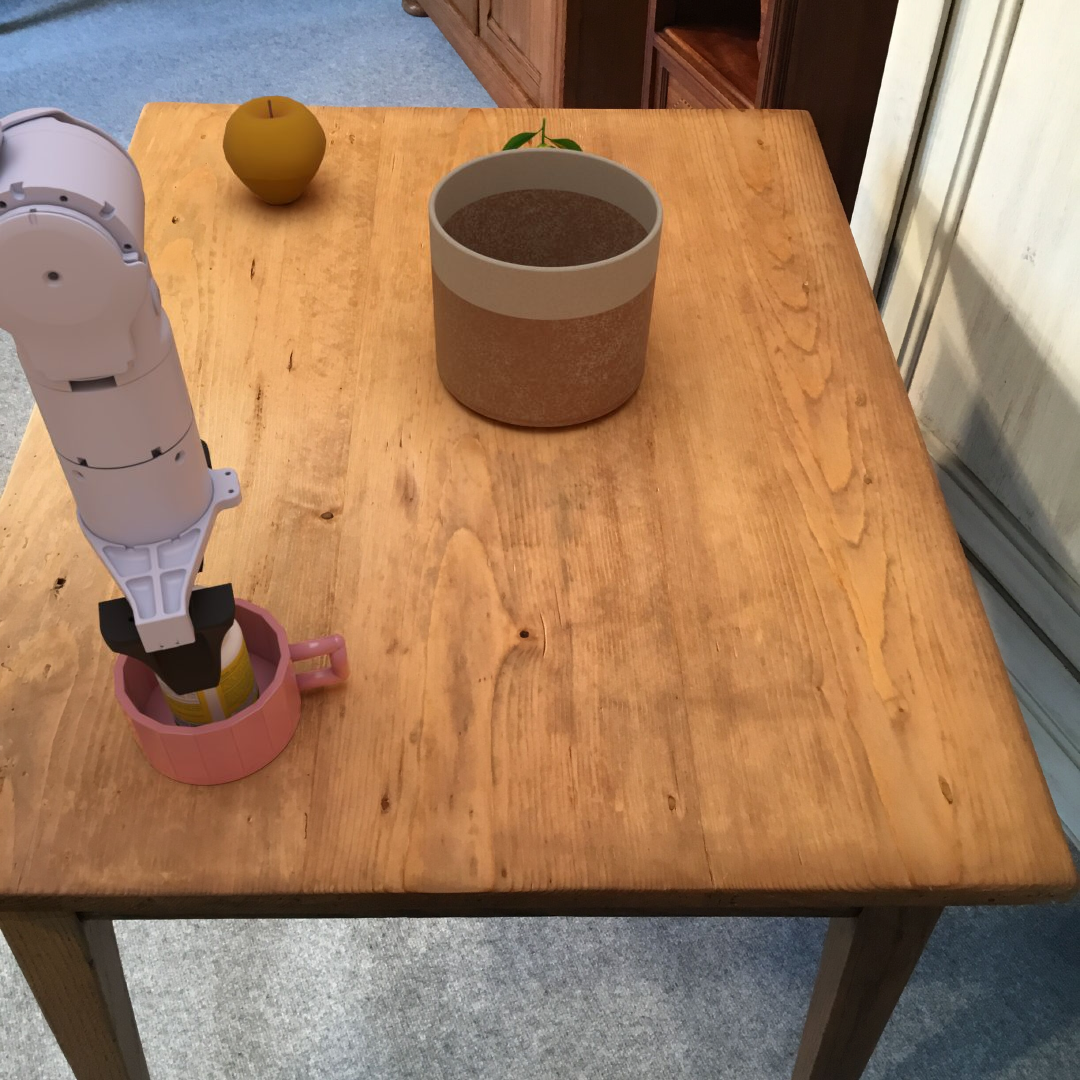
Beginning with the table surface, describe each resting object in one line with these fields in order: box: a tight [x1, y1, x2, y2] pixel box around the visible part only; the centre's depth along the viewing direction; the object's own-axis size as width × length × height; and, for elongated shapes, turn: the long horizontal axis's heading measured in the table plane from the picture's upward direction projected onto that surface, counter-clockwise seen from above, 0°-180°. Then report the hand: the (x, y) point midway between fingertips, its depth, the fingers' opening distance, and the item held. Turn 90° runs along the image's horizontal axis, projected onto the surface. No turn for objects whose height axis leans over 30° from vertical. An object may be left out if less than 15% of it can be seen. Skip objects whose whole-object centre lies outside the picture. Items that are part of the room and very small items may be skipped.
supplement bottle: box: [154, 584, 260, 727], centre depth 58 cm, size 5×5×8 cm
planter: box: [427, 147, 664, 428], centre depth 78 cm, size 16×16×14 cm
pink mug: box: [112, 597, 351, 786], centre depth 60 cm, size 12×9×5 cm
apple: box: [222, 95, 327, 206], centre depth 96 cm, size 9×9×9 cm
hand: (189, 626), depth 55 cm, fingers open, 7 cm apart
